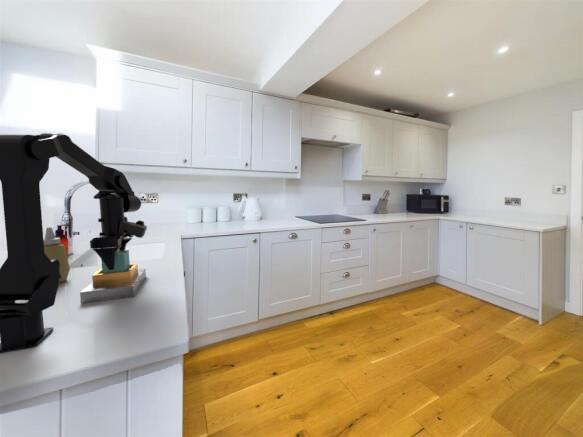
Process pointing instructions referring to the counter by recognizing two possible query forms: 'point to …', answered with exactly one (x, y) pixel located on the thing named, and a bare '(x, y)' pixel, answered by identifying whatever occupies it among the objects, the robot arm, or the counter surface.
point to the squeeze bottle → (56, 253)
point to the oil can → (118, 262)
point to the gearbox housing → (113, 285)
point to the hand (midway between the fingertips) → (116, 265)
